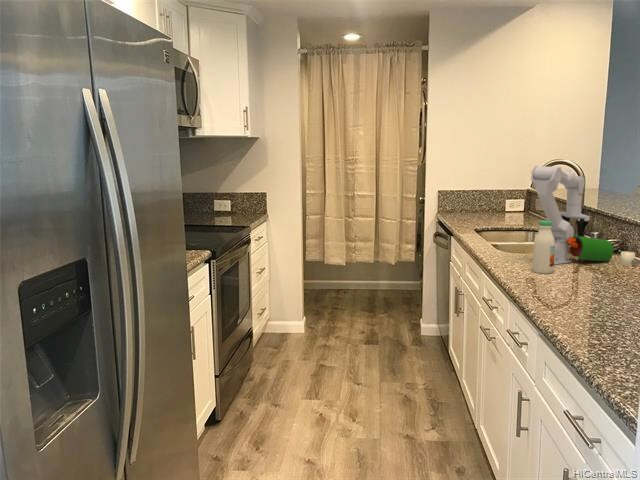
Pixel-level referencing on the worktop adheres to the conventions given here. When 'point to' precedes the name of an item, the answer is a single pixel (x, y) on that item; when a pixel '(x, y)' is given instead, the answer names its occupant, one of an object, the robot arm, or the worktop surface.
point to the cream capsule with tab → (628, 258)
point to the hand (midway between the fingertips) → (572, 234)
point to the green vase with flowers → (590, 248)
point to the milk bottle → (544, 249)
